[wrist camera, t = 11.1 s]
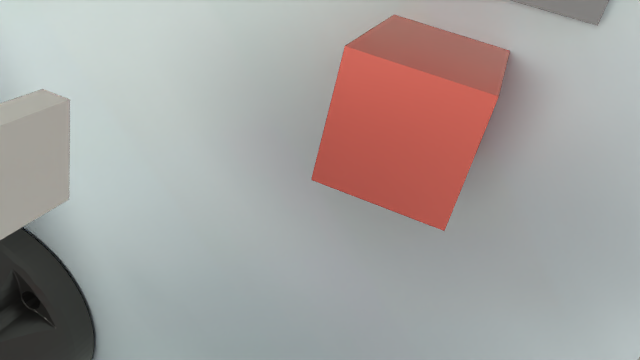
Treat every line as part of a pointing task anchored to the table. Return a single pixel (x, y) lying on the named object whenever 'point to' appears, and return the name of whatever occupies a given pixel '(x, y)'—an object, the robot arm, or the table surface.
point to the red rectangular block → (409, 117)
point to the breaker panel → (572, 8)
